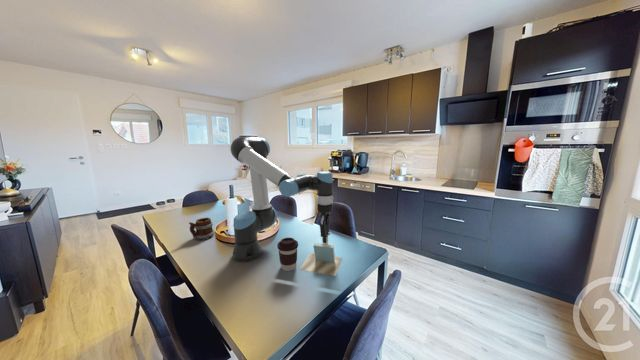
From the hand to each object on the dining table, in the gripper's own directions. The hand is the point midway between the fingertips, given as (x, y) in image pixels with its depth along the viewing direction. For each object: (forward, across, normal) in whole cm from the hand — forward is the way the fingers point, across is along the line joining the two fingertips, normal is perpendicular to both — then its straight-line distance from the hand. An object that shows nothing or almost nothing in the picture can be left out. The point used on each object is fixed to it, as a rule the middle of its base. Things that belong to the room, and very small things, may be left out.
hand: (325, 247), depth 111 cm
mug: (+9, +7, +86) cm, 87 cm away
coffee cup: (+9, -10, +16) cm, 21 cm away
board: (+8, -3, +1) cm, 9 cm away
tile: (+7, 0, 0) cm, 7 cm away
